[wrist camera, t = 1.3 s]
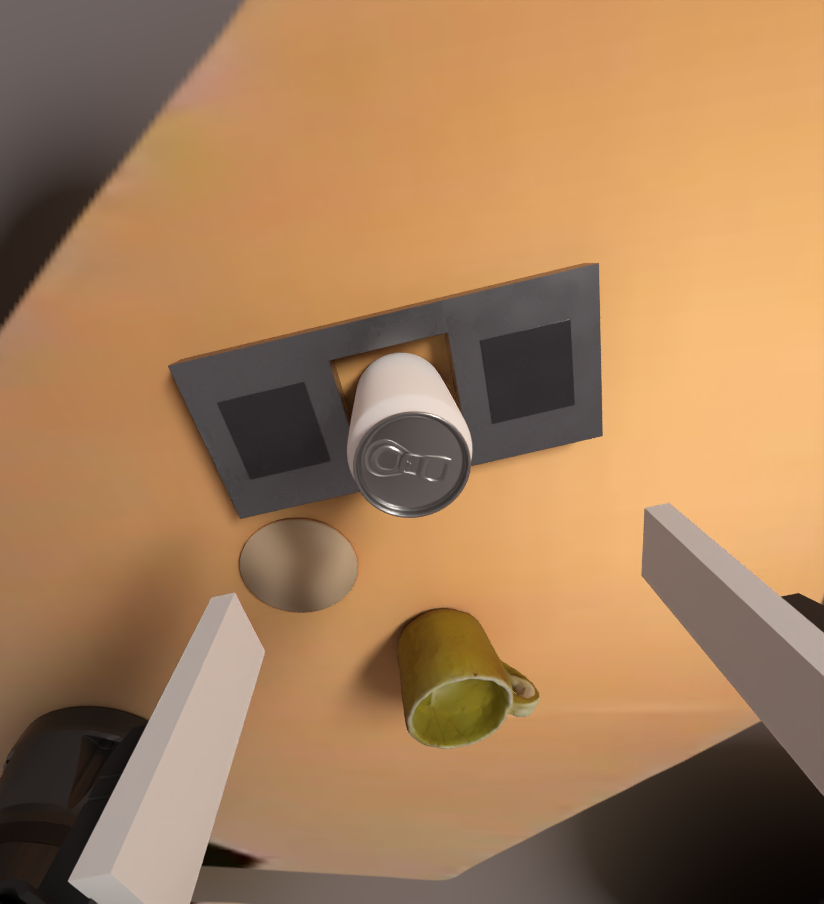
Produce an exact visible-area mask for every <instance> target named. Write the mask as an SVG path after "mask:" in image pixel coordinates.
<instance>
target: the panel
mask: <svg viewBox="0 0 824 904" xmlns="http://www.w3.org/2000/svg"><path fill="white" fill-rule="evenodd" d="M443 333H445V338H446V344H447V349H448V355H449V361H450V366H451V372H452V377H453V383H454V388H455V394H456V400H457V405H458V409H459V410H460V412H461V414H462V416H463V418H464V420H465V422H466V424H467V427H468V429H469V432H470V436H471V440H472V458H471V466H473V465H478V464H482V463H487V462H491V461H495V460H500V459H504V458H508V457H513V456H517V455H522V454H526V453H530V452H535V451H539V450H543V449H548V448H552V447H557V446H561V445H565V444H570V443H574V442H578V441H583V440H587V439H592V438H596V437H600V436H603V432H602V386H601V341H600V295H599V263H583V264H579V265H575V266H571V267H566V268H562V269H558V270H554V271H550V272H545V273H541V274H537V275H533V276H529V277H525V278H520V279H516V280H512V281H508V282H504V283H499V284H495V285H491V286H487V287H483V288H478V289H474V290H470V291H466V292H462V293H457V294H453V295H449V296H445V297H441V298H437V299H432V300H428V301H424V302H420V303H416V304H411V305H407V306H403V307H399V308H395V309H390V310H386V311H382V312H378V313H374V314H369V315H365V316H361V317H357V318H353V319H349V320H344V321H340V322H336V323H332V324H328V325H323V326H319V327H315V328H311V329H307V330H302V331H298V332H294V333H290V334H286V335H281V336H277V337H273V338H269V339H265V340H261V341H256V342H252V343H248V344H244V345H240V346H235V347H231V348H227V349H223V350H219V351H214V352H210V353H206V354H202V355H198V356H193V357H189V358H185V359H181V360H179V361H177V362H175V363H173V364H171V365H169V366H168V367H169V369H170V371H171V373H172V376H173V378H174V380H175V382H176V384H177V386H178V388H179V390H180V392H181V395H182V397H183V399H184V401H185V403H186V405H187V407H188V409H189V411H190V413H191V416H192V418H193V420H194V422H195V424H196V426H197V428H198V430H199V432H200V435H201V437H202V439H203V441H204V443H205V445H206V447H207V449H208V451H209V453H210V456H211V458H212V460H213V462H214V464H215V466H216V468H217V470H218V472H219V474H220V477H221V479H222V481H223V483H224V485H225V487H226V489H227V491H228V493H229V496H230V498H231V500H232V502H233V504H234V506H235V508H236V510H237V512H238V514H239V517H240V519H242V518H246V517H250V516H255V515H259V514H263V513H268V512H272V511H277V510H281V509H285V508H290V507H294V506H298V505H303V504H307V503H312V502H316V501H320V500H325V499H329V498H333V497H338V496H342V495H347V494H351V493H355V492H360V490H359V489H358V487H357V484H356V481H355V479H354V478H353V476H352V474H351V471H350V468H349V465H348V459H347V443H348V435H349V429H350V423H351V417H350V413H349V410H348V407H347V403H346V400H345V397H344V393H343V390H342V387H341V383H340V380H339V377H338V373H337V370H336V367H335V363H334V360H333V359H337V358H342V357H346V356H350V355H354V354H359V353H363V352H367V351H371V350H375V349H380V348H384V347H388V346H392V345H397V344H401V343H405V342H409V341H414V340H418V339H422V338H426V337H430V336H435V335H439V334H443Z"/></svg>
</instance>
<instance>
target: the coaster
mask: <svg viewBox="0 0 824 904" xmlns="http://www.w3.org/2000/svg"><path fill="white" fill-rule="evenodd" d="M240 571H241V576H242V578H243V580H244V582H245V584H246V586H247V587H248V589H249V590H250V591H251V592H252V593H253V594H254V595H255V596H256V597H257V598H259V599H260V600H261V601H263V602H264V603H266V604H268V605H270V606H272V607H275V608H278V609H281V610H285V611H290V612H313V611H318V610H322V609H325V608H328V607H330V606H332V605H334V604H336V603H338V602H339V601H340V600H342V599H343V598H344V597H345V596H346V595H347V594H348V593H349V592H350V591H351V589H352V587H353V586H354V583H355V581H356V578H357V572H358V560H357V556H356V553H355V550H354V548H353V546H352V545H351V543H350V542H349V541H348V539H347V538H346V537H345V536H344V535H343V534H342V533H340V532H339V531H338V530H336V529H335V528H333V527H331V526H329V525H328V524H325V523H322V522H320V521H316V520H313V519H306V518H287V519H281V520H277V521H274V522H271V523H269V524H267V525H265V526H263V527H261V528H260V529H259V530H257V531H256V532H255V533H254V534H253V535H252V536H251V537H250V538H249V539H248V541H247V542H246V544H245V546H244V548H243V551H242V553H241V557H240Z"/></svg>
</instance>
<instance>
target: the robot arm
mask: <svg viewBox="0 0 824 904" xmlns="http://www.w3.org/2000/svg"><path fill="white" fill-rule="evenodd" d="M641 576H642V577H643V578H644V579H645V580H646V582H647V583H648V584H649V585H650V586H651V588H652V589H653V590H654V591H655V593H656V594H657V595H658V596H659V597H660V599H661V600H662V601H663V602H664V603H665V605H666V606H667V607H668V608H669V609H670V611H671V612H672V613H673V614H674V615H675V617H676V618H677V619H678V620H679V622H680V623H681V624H682V625H683V626H684V628H685V629H686V630H687V631H688V632H689V634H690V635H691V636H692V637H693V638H694V640H695V641H696V642H697V643H698V645H699V646H700V647H701V648H702V649H703V651H704V652H705V653H706V654H707V655H708V657H709V658H710V659H711V660H712V661H713V663H714V664H715V665H716V666H717V668H718V669H719V670H720V671H721V672H722V674H723V675H724V676H725V677H726V678H727V680H728V681H729V682H730V683H731V684H732V686H733V687H734V688H735V689H736V691H737V692H738V693H739V694H740V695H741V697H742V698H743V699H744V700H745V701H746V703H747V704H748V705H749V706H750V707H751V709H752V710H753V711H754V712H755V713H756V715H757V716H758V717H759V718H760V720H761V721H762V722H763V723H764V724H765V726H766V727H767V728H768V729H769V730H770V732H771V733H772V734H773V735H774V736H775V738H776V739H777V740H778V741H779V743H780V744H781V745H782V746H783V747H784V748H785V750H786V751H787V752H788V753H789V755H790V756H791V757H792V758H793V759H794V761H795V762H796V763H797V764H798V766H799V767H800V768H801V769H802V770H803V771H804V773H805V774H806V775H807V776H808V778H809V779H810V780H811V781H812V782H813V784H814V785H815V786H816V787H817V788H818V790H819V791H820V792H821V793H822V795H824V605H822V604H820V603H818V602H816V601H814V600H811V599H809V598H807V597H805V596H803V595H801V594H799V593H797V594H792V595H787V596H782V597H780V596H779V595H778V594H777V593H776V592H774V591H773V590H772V589H771V588H770V587H769V586H767V585H766V584H765V583H764V582H763V581H761V580H760V579H759V578H758V577H757V576H755V575H754V574H753V573H752V572H751V571H750V570H748V569H747V568H746V567H745V566H744V565H742V564H741V563H740V562H739V561H738V560H736V559H735V558H734V557H733V556H732V555H730V554H729V553H728V552H727V551H726V550H725V549H723V548H722V547H721V546H720V545H719V544H717V543H716V542H715V541H714V540H713V539H711V538H710V537H709V536H708V535H707V534H706V533H704V532H703V531H702V530H701V529H700V528H698V527H697V526H696V525H695V524H694V523H692V522H691V521H690V520H689V519H688V518H686V517H685V516H684V515H683V514H682V513H681V512H679V511H678V510H677V509H676V508H675V507H673V506H672V505H671V504H670V503H667V504H662V505H657V506H652V507H647V508H645V511H644V532H643V554H642V575H641ZM264 654H265V650H264V648H263V646H262V645H261V643H260V641H259V639H258V637H257V635H256V633H255V631H254V629H253V627H252V625H251V623H250V621H249V619H248V617H247V615H246V613H245V611H244V609H243V608H242V606H241V604H240V602H239V600H238V598H237V596H236V594H235V593H231V594H226V595H221V596H216V597H212V598H211V600H210V602H209V604H208V606H207V608H206V609H205V611H204V613H203V615H202V617H201V619H200V621H199V623H198V625H197V627H196V629H195V631H194V633H193V635H192V637H191V639H190V641H189V643H188V645H187V647H186V649H185V651H184V653H183V655H182V657H181V659H180V661H179V663H178V665H177V667H176V669H175V671H174V673H173V675H172V677H171V679H170V681H169V682H168V684H167V686H166V688H165V690H164V692H163V694H162V696H161V698H160V700H159V702H158V704H157V706H156V708H155V710H154V712H153V714H152V716H151V718H150V720H149V722H148V721H146V720H144V719H142V718H140V717H137V716H135V715H132V714H129V713H126V712H122V711H118V710H113V709H107V708H99V707H75V708H67V709H62V710H58V711H54V712H51V713H48V714H46V715H44V716H42V717H40V718H38V719H37V720H35V721H34V722H33V723H32V724H31V725H30V726H29V727H28V728H27V729H26V730H25V732H24V733H23V734H22V736H21V737H20V738H19V740H18V741H17V742H16V744H15V745H14V746H13V748H12V749H11V751H10V753H9V754H8V756H7V759H6V762H5V765H4V772H3V774H2V777H1V779H0V904H190V901H191V898H192V895H193V891H194V888H195V884H196V881H197V878H198V874H199V871H200V868H201V865H202V861H203V858H204V855H205V851H206V848H207V845H208V841H209V838H210V835H211V831H212V828H213V824H214V821H215V818H216V814H217V811H218V808H219V804H220V801H221V798H222V794H223V791H224V788H225V784H226V781H227V778H228V774H229V771H230V768H231V764H232V761H233V758H234V754H235V751H236V748H237V744H238V741H239V738H240V734H241V731H242V728H243V724H244V721H245V717H246V714H247V711H248V707H249V704H250V701H251V697H252V694H253V691H254V687H255V684H256V681H257V677H258V674H259V671H260V667H261V664H262V661H263V657H264Z"/></svg>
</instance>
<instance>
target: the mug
mask: <svg viewBox="0 0 824 904" xmlns="http://www.w3.org/2000/svg"><path fill="white" fill-rule="evenodd" d="M398 664H399V669H400V679H401V693H402V701H403V708H404V716H405V722H406V727H407V730H408V732H409V733H410V735H411V736H412V737H413V738H414V739H416V740H417V741H418V742H420V743H422V744H424V745H426V746H431V747H437V748H442V749H447V748H456V747H461V746H466V745H471V744H474V743H476V742H479V741H481V740H483V739H484V738H486V737H488V736H489V735H491V734H492V733H494V732H495V731H496V730H497V729H498V728H499V727H500V725H501V724H502V723H503V722H504V721H505V719H506V716H507V714H512V715H514V716H516V717H527V716H529V715H530V714H531V713H532V711H533V710H534V708H535V706H536V705H537V704H538V702H539V699H540V696H539V692H538V691H537V689H536V688H535V686H534V685H533V683H532V682H530V681H529V680H528V679H527V678H526V677H525V676H524V675H522V674H521V673H519V672H518V671H517V670H515V669H514V668H512V667H510V666H509V665H507V664H506V663H504V662H502V661H501V660H500V659H499V657H498V655H497V654H496V652H495V650H494V648H493V646H492V645H491V643H490V641H489V639H488V637H487V635H486V633H485V631H484V629H483V628H482V626H481V625H480V623H479V622H478V620H477V619H476V618H474V617H473V616H472V615H470V614H469V613H464V612H460V611H457V610H455V609H449V608H442V609H435V610H431V611H428V612H425V613H423V614H421V615H420V616H419V617H418V618H416V619H415V620H413V621H412V622H411V623H409V624H408V625H407V626H406V627H405V629H404V630H403V632H402V634H401V637H400V639H399V643H398ZM513 691H514V692H515V693H516V694H517V695H516V694H515V693H514V692H513Z"/></svg>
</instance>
